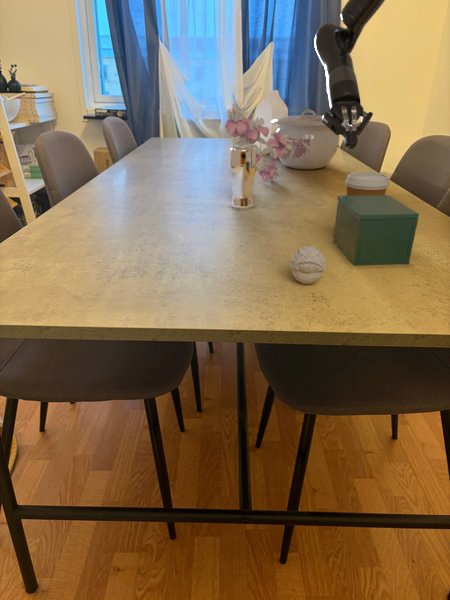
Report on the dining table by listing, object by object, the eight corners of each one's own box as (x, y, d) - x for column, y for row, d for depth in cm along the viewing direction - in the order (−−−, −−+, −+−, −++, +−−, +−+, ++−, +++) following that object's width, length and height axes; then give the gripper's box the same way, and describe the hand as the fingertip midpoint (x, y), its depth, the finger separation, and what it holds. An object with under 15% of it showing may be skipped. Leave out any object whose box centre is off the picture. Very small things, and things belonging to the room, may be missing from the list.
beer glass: (250, 209, 115) (252, 150, 108) (226, 207, 117) (226, 149, 110) (257, 203, 120) (259, 147, 114) (234, 201, 123) (234, 145, 116)
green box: (333, 241, 93) (337, 200, 89) (381, 239, 93) (388, 199, 89) (353, 265, 81) (360, 219, 77) (408, 264, 81) (418, 218, 77)
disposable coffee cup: (387, 226, 101) (396, 174, 96) (373, 237, 95) (382, 182, 89) (348, 219, 106) (354, 169, 101) (332, 229, 99) (339, 176, 94)
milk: (270, 147, 215) (272, 89, 203) (287, 150, 207) (290, 90, 195) (252, 150, 208) (254, 90, 196) (269, 153, 200) (272, 90, 188)
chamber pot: (343, 174, 156) (350, 112, 146) (266, 172, 159) (269, 111, 150) (337, 161, 180) (343, 107, 171) (271, 159, 184) (273, 106, 175)
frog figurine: (287, 291, 71) (290, 251, 68) (288, 274, 77) (291, 237, 74) (325, 293, 70) (329, 253, 67) (323, 276, 76) (327, 238, 73)
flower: (295, 189, 129) (303, 105, 128) (220, 181, 128) (227, 96, 127) (283, 202, 149) (289, 129, 148) (218, 196, 148) (224, 122, 147)
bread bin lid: (337, 199, 89) (337, 195, 89) (387, 198, 90) (387, 194, 89) (360, 219, 77) (360, 215, 76) (418, 218, 77) (419, 213, 77)
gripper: (321, 78, 107) (329, 137, 102) (373, 78, 108) (384, 136, 102) (313, 101, 114) (321, 157, 109) (362, 100, 115) (372, 156, 109)
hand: (352, 146), depth 106 cm, fingers closed
